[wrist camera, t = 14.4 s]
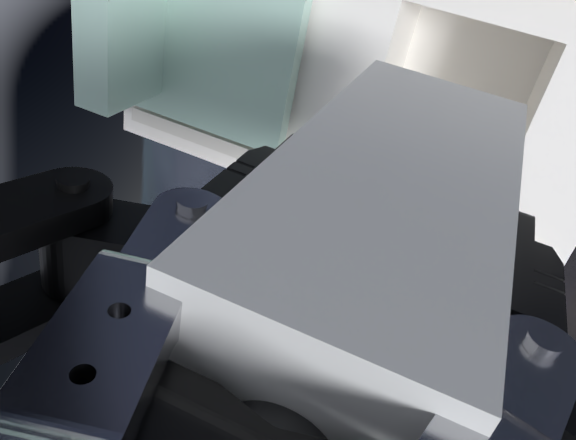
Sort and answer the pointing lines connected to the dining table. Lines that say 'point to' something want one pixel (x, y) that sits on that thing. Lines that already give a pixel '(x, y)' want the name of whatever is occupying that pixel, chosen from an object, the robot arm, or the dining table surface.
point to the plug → (362, 265)
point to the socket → (444, 65)
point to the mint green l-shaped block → (193, 62)
